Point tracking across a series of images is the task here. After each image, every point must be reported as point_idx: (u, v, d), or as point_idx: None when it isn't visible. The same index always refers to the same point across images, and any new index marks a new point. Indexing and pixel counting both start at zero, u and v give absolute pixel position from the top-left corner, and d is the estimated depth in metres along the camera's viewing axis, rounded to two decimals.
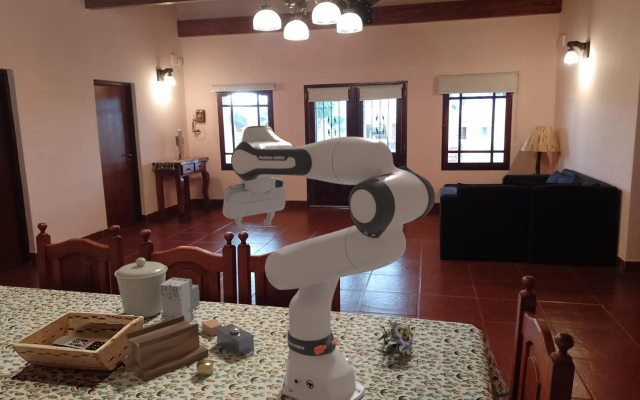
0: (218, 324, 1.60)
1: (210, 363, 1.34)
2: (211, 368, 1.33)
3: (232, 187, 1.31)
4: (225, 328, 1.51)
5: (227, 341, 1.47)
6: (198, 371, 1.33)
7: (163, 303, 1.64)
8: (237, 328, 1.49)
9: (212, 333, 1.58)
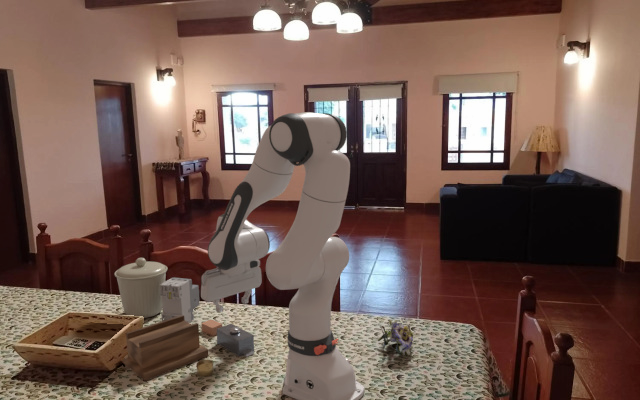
0: (218, 324, 1.60)
1: (210, 363, 1.34)
2: (211, 368, 1.33)
3: (208, 272, 1.39)
4: (225, 328, 1.51)
5: (227, 341, 1.47)
6: (198, 371, 1.33)
7: (163, 303, 1.64)
8: (237, 328, 1.49)
9: (213, 333, 1.58)
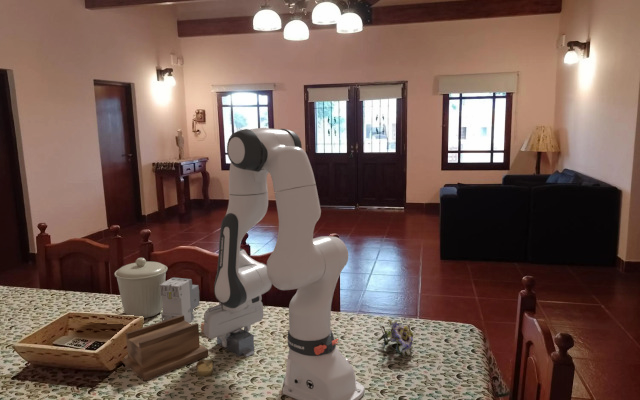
0: None
1: (210, 363, 1.34)
2: (211, 368, 1.33)
3: (211, 309, 1.41)
4: None
5: None
6: (198, 371, 1.33)
7: (163, 303, 1.64)
8: None
9: None
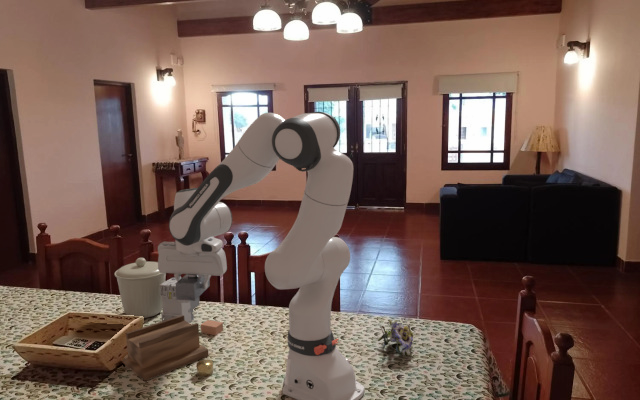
0: (219, 323, 1.61)
1: (210, 363, 1.34)
2: (211, 368, 1.33)
3: (163, 243, 1.41)
4: None
5: None
6: (198, 371, 1.33)
7: (163, 303, 1.64)
8: None
9: (216, 332, 1.58)
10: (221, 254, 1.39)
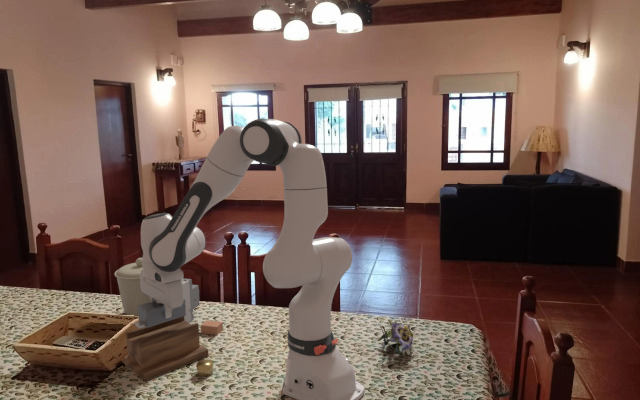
0: (219, 322, 1.61)
1: (210, 363, 1.34)
2: (211, 368, 1.33)
3: None
4: None
5: None
6: (198, 371, 1.33)
7: None
8: None
9: (217, 332, 1.58)
10: (173, 287, 1.32)
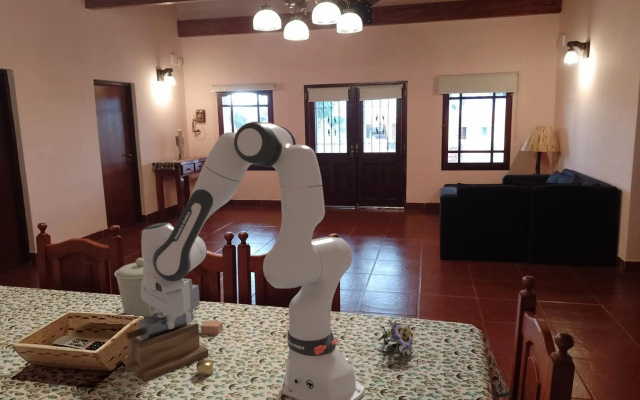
0: (219, 322, 1.61)
1: (210, 363, 1.34)
2: (211, 368, 1.33)
3: None
4: None
5: None
6: (198, 371, 1.33)
7: None
8: (163, 314, 1.40)
9: (218, 331, 1.59)
10: (174, 297, 1.32)
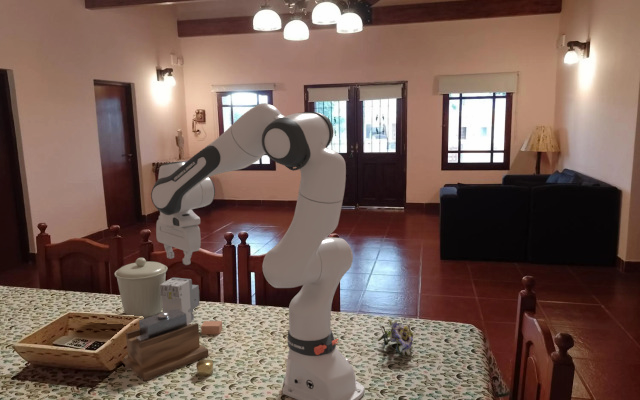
0: (219, 322, 1.62)
1: (210, 363, 1.34)
2: (211, 368, 1.33)
3: None
4: (175, 312, 1.44)
5: None
6: (198, 371, 1.33)
7: (163, 303, 1.64)
8: (163, 314, 1.40)
9: (219, 331, 1.59)
10: (191, 231, 1.36)
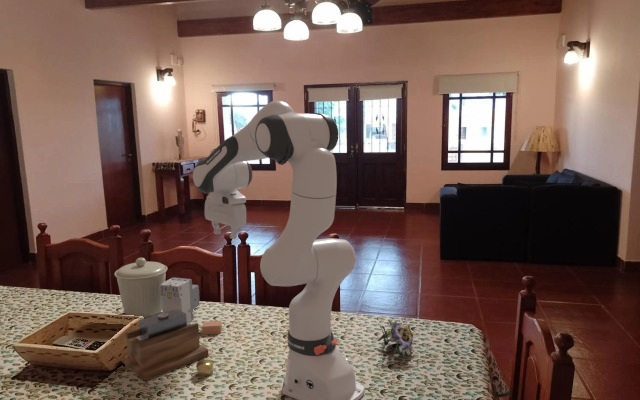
0: (218, 321, 1.62)
1: (210, 363, 1.34)
2: (211, 368, 1.33)
3: (209, 195, 1.66)
4: (175, 312, 1.44)
5: None
6: (198, 371, 1.33)
7: (163, 303, 1.64)
8: (163, 314, 1.40)
9: (220, 330, 1.59)
10: (238, 208, 1.54)
